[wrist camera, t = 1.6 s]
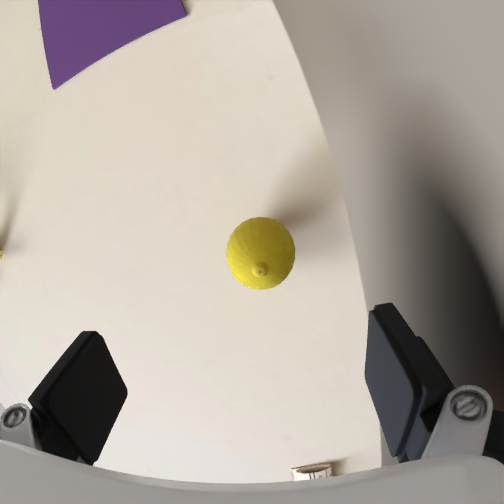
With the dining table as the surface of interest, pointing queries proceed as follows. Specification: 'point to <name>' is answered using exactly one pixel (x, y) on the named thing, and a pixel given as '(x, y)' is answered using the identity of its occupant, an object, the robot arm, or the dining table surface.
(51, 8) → the cloth
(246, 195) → the dining table surface
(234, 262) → the lemon
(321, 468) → the newspaper
